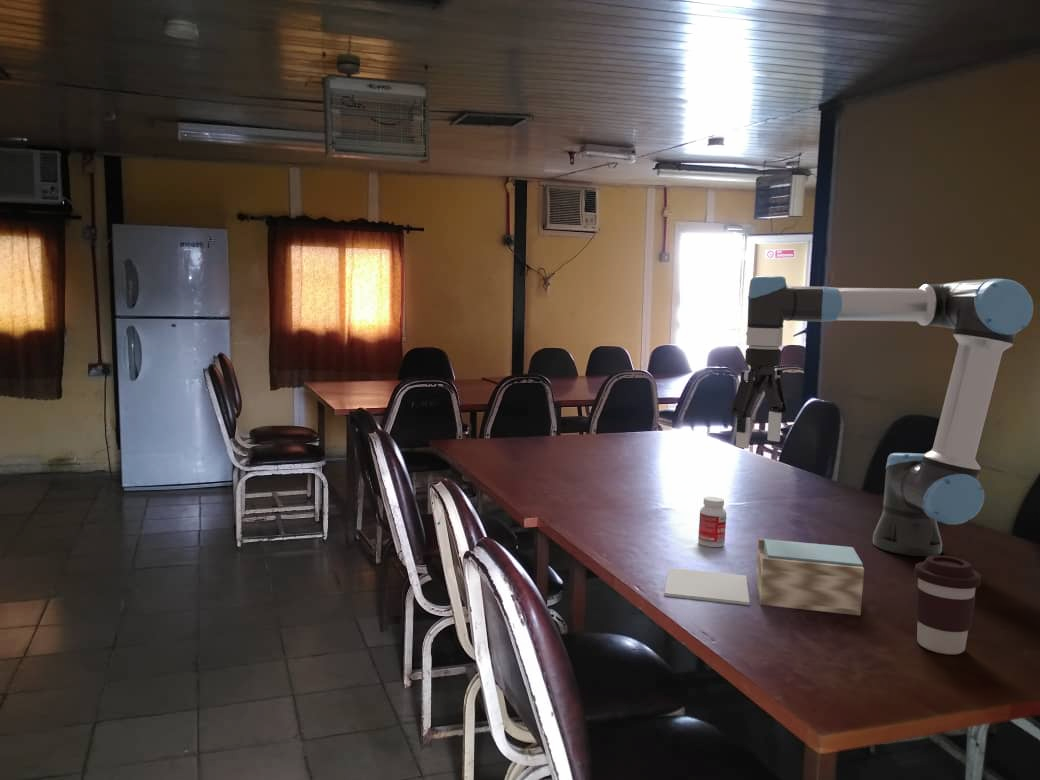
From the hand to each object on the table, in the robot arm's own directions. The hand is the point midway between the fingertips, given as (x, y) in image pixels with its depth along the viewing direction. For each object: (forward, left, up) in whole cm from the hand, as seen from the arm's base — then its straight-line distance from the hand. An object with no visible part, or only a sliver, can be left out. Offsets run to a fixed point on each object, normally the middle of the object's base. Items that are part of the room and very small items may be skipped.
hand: (758, 444), depth 181 cm
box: (-9, +21, -27) cm, 35 cm away
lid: (-10, +21, -20) cm, 30 cm away
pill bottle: (+9, -10, -27) cm, 30 cm away
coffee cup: (-29, +39, -27) cm, 55 cm away
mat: (+10, +21, -27) cm, 35 cm away
